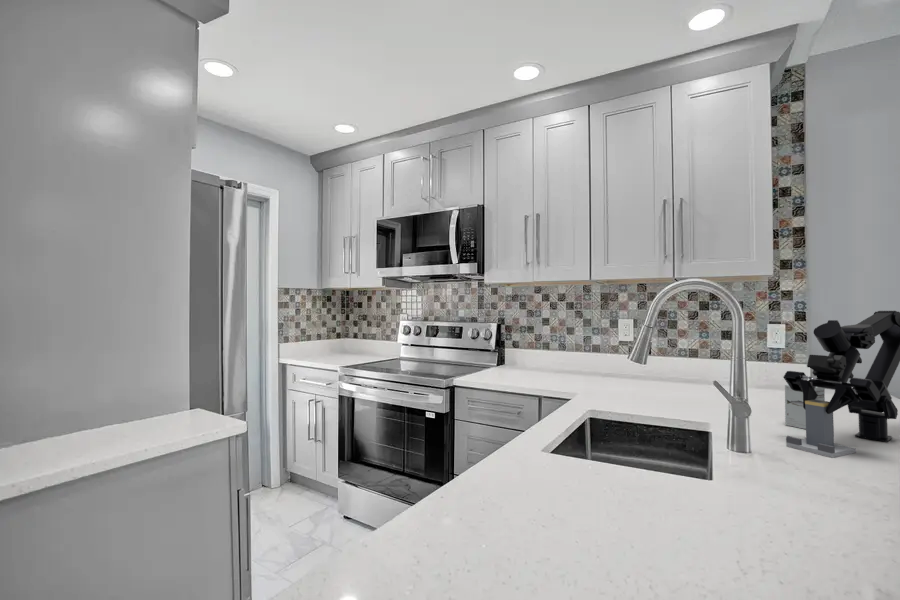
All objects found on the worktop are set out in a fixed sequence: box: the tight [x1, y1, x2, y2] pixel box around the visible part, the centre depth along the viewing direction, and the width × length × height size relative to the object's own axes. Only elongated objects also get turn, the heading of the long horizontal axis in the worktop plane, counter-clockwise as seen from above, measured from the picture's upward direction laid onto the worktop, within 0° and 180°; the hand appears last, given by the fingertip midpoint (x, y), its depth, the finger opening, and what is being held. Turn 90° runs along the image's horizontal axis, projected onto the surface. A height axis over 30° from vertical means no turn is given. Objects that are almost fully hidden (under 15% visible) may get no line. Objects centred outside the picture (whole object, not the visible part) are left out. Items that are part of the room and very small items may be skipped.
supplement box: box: [784, 383, 826, 430], centre depth 133 cm, size 7×7×13 cm
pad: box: [785, 435, 857, 459], centre depth 111 cm, size 10×10×2 cm
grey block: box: [805, 399, 835, 447], centre depth 111 cm, size 4×4×11 cm
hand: (815, 410), depth 111 cm, fingers open, 5 cm apart
